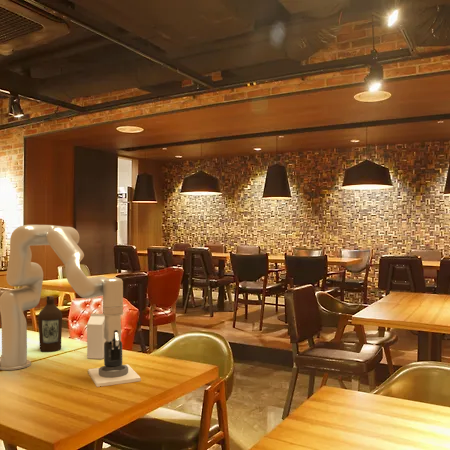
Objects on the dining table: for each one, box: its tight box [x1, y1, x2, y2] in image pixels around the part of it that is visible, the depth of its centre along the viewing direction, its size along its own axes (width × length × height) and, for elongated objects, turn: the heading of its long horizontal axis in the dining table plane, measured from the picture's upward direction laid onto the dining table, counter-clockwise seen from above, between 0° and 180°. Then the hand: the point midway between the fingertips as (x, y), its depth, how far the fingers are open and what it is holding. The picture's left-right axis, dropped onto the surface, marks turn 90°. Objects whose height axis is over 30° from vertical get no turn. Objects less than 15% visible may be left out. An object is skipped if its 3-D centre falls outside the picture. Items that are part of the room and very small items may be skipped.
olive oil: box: [37, 295, 63, 353], centre depth 231 cm, size 11×11×25 cm
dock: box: [87, 363, 142, 388], centre depth 188 cm, size 16×20×3 cm
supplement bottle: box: [103, 339, 123, 367], centre depth 188 cm, size 7×7×12 cm
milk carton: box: [86, 313, 106, 360], centre depth 217 cm, size 7×7×19 cm
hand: (113, 356), depth 188 cm, fingers closed on supplement bottle, 6 cm apart
